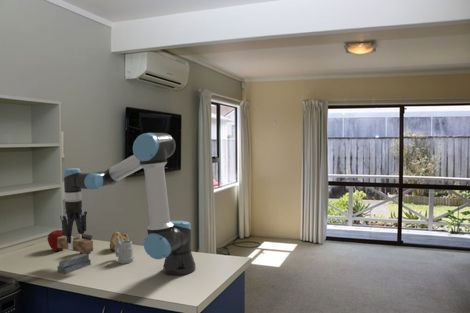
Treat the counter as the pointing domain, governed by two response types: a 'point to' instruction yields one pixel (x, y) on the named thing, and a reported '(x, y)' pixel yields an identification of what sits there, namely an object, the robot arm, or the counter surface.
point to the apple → (54, 239)
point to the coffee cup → (87, 237)
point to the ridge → (74, 263)
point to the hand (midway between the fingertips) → (75, 247)
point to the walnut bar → (76, 244)
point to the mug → (124, 251)
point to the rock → (121, 236)
